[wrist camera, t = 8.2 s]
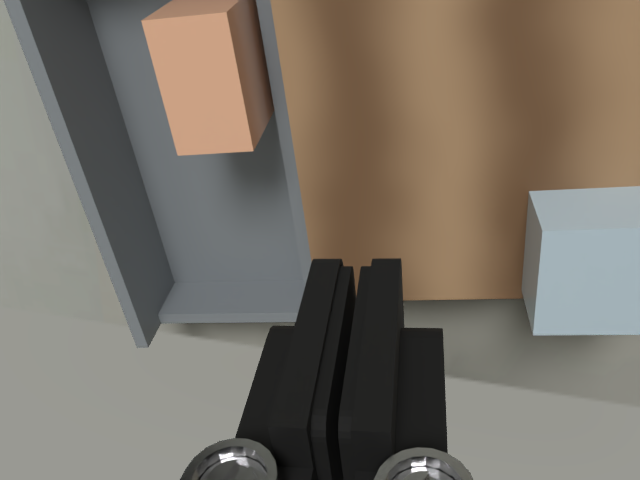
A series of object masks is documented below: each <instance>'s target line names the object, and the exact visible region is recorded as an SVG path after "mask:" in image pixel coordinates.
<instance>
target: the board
mask: <svg viewBox="0 0 640 480" xmlns="http://www.w3.org/2000/svg"><path fill="white" fill-rule="evenodd" d="M270 1H271V8H272V14H273V20H274V27H275V33H276V39H277V46H278V52H279V58H280V65H281V71H282V77H283V84H284V90H285V97H286V103H287V109H288V116H289V122H290V128H291V135H292V141H293V147H294V154H295V160H296V166H297V173H298V179H299V186H300V192H301V198H302V205H303V211H304V217H305V224H306V230H307V236H308V243H309V249H310V255H311V262H312V260H313V259H342V261H343V266H353V269H354V279H355V290H356V295H357V289H358V282H359V275H360V269H361V266H371V262H372V259H379V258H401V262H402V286H403V300H460V299H521V298H523V294H522V290H521V289H522V276H523V262H524V249H525V236H526V222H527V209H528V195H529V191H543V190H565V189H587V188H609V187H631V186H640V0H270Z"/></svg>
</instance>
